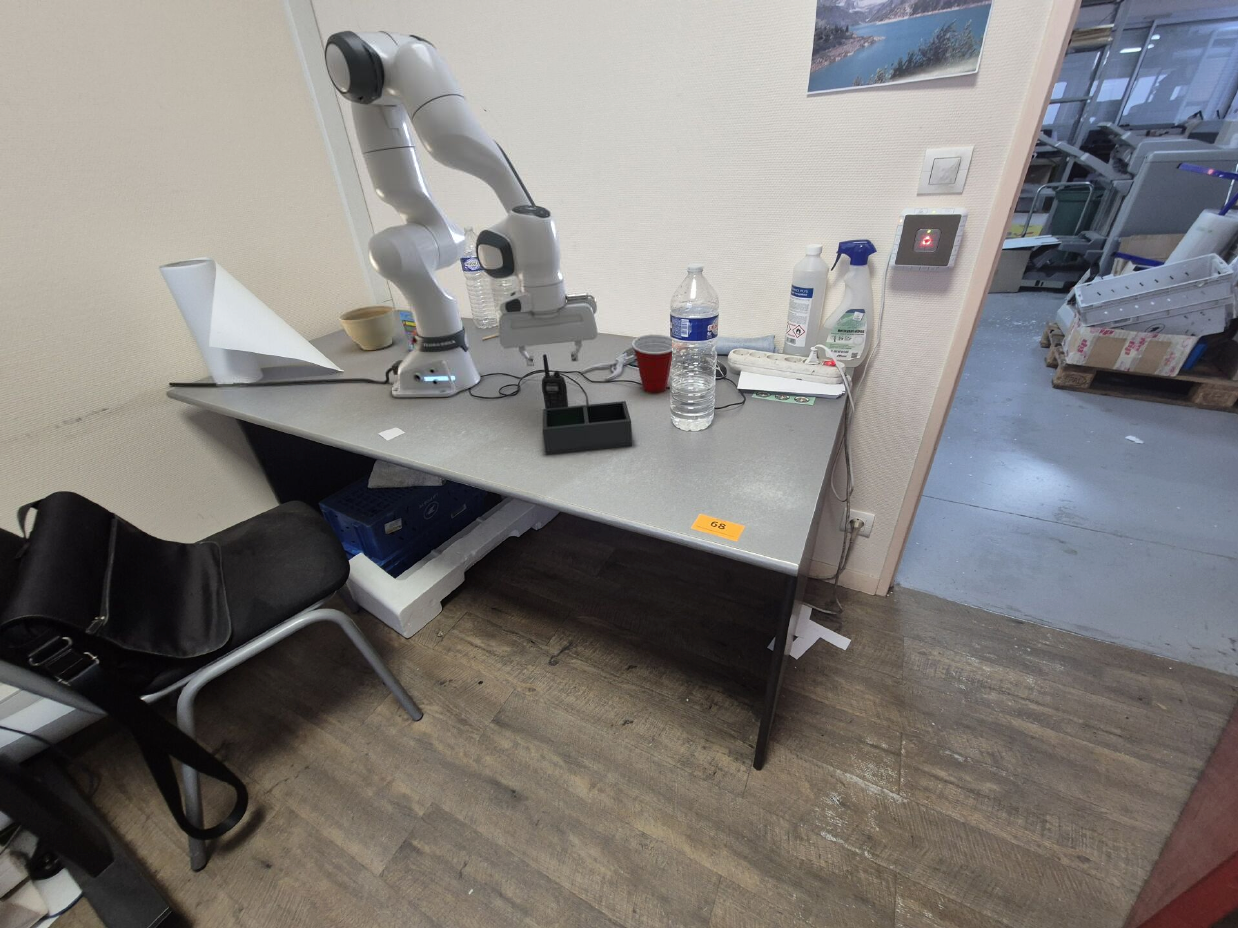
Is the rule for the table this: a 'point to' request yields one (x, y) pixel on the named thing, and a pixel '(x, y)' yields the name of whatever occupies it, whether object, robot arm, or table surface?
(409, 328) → the tape cartridge
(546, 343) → the robot arm
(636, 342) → the plastic cup
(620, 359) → the pliers
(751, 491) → the table surface
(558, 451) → the box
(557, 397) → the two-way radio
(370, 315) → the planter bowl
